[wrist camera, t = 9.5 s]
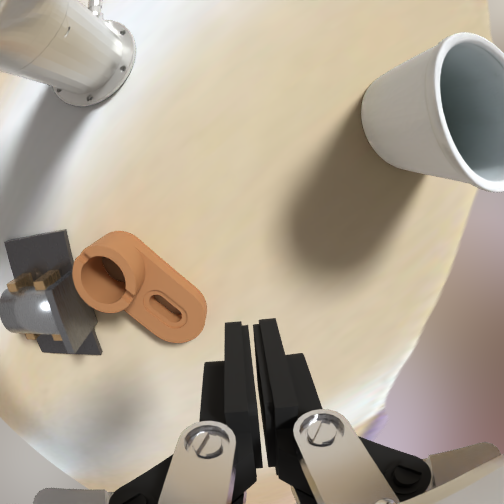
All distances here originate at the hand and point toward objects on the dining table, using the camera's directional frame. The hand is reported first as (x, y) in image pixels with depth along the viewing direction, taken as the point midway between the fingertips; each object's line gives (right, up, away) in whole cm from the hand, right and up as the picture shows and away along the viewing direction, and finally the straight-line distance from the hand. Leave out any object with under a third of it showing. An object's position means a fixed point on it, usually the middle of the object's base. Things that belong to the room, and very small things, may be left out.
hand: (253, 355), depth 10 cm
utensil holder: (+20, +21, +24) cm, 38 cm away
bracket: (-14, -1, +29) cm, 32 cm away
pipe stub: (-31, -3, +29) cm, 42 cm away
